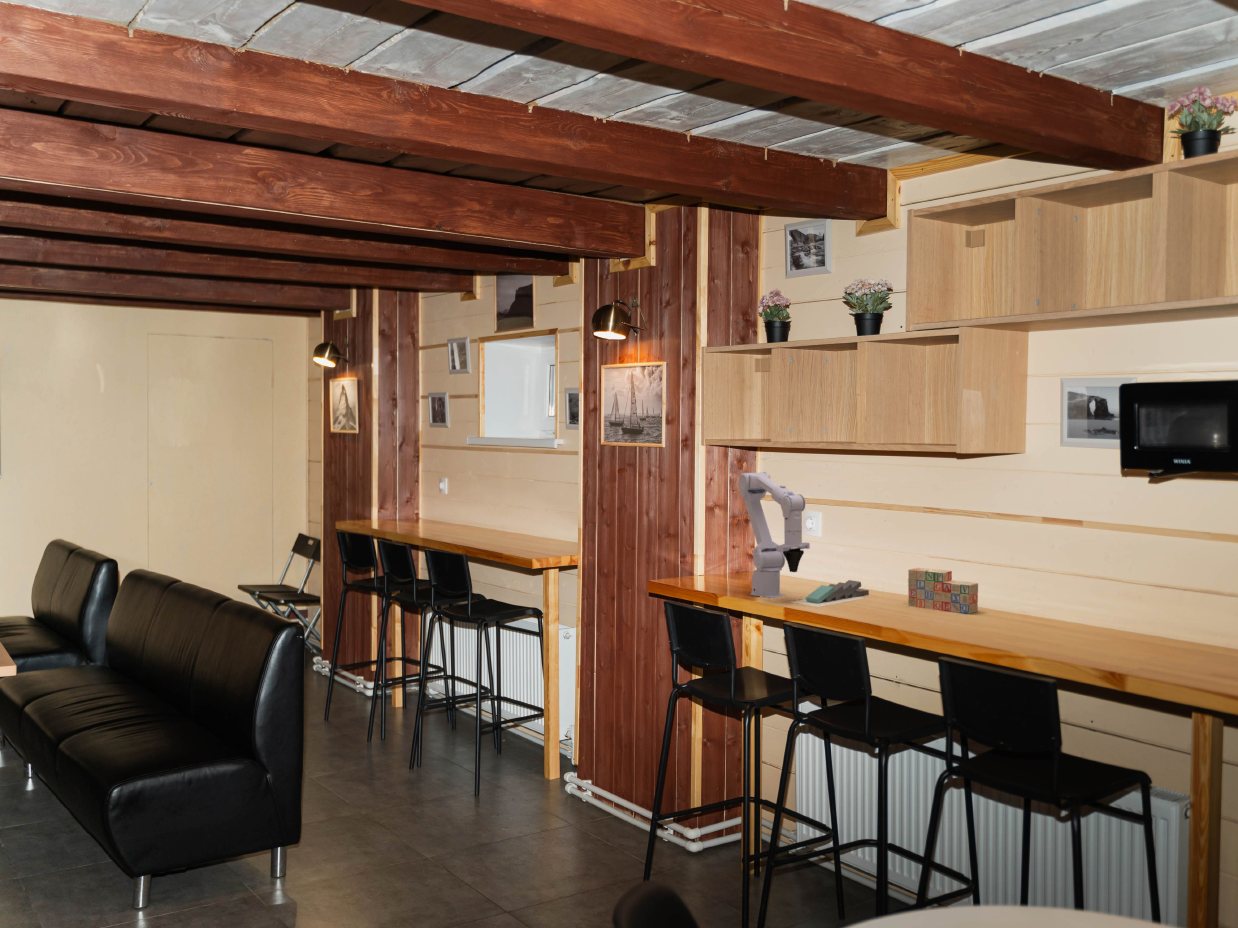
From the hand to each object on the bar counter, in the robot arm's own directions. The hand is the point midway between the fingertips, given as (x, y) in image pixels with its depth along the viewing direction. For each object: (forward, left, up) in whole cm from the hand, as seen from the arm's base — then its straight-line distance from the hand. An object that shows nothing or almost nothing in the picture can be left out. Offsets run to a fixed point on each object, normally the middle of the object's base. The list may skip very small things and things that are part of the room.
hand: (793, 571), depth 354 cm
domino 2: (+6, +8, -9) cm, 13 cm away
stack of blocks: (+39, +28, -11) cm, 49 cm away
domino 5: (+6, +21, -9) cm, 24 cm away
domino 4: (+6, +17, -9) cm, 20 cm away
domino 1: (+5, +3, -9) cm, 11 cm away
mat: (+6, +11, -10) cm, 16 cm away
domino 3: (+6, +12, -9) cm, 16 cm away
